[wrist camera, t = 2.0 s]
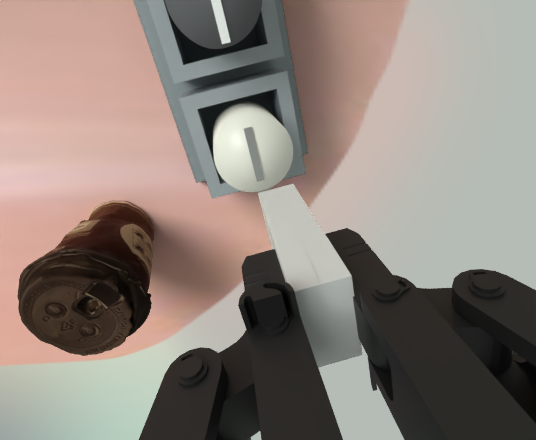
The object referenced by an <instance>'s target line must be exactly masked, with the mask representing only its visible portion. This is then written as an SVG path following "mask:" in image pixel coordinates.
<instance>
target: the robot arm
mask: <svg viewBox="0 0 536 440" xmlns="http://www.w3.org/2000/svg"><path fill="white" fill-rule="evenodd" d="M258 196H259V200H260V204H261V208H262V212H263V216H264V220H265V223H266V227H267V231H268V235H269V239H270V243H271V247H272V250H269V251H265V252H262V253H258V254H255V255H251V256H247V257H246V259H245V261H244V263H243V265H242V274H243V281H244V286H245V291H244V293H243V294H242V295H241V297H240V299H239V305H238V306H239V309H240V311H241V315H242V317H243V320H244V323H245V326H246V329H247V330H246V331H245V333H244V335H243V336H242V337H241V338H240V339H239V340H238V341H237V342H236V343H234V344H233V345H231V346H230V347H228V348H227V349H225V350H223V351H222V352H220V353H217V352H216V351H214V350H212V349H210V348H197V349H193V350H189V351H188V352H186V353H184V354H182V355H180V356H179V357H178V358H177V359H176V360H175V361H174V362H173V363H172V364H171V365H170V367H169V368H168V370H167V372H166V373H165V375H164V378H163V380H162V383H161V386H160V388H159V390H158V393H157V395H156V398H155V400H154V403H153V406H152V408H151V410H150V413H149V415H148V418H147V420H146V423H145V426H144V428H143V430H142V433H141V436H140V438H139V440H251V436H253V435H254V434H256V433H257V432H258V431H261V438H262V440H343V439H342V436H341V433H340V430H339V427H338V424H337V421H336V418H335V415H334V412H333V409H332V407H331V404H330V401H329V398H328V395H327V392H326V389H325V386H324V384H323V381H322V378H321V375H320V372H319V369H318V367H321V366H325V365H328V364H332V363H335V362H339V361H342V360H346V359H348V358H352V357H356V356H359V355H362V348H361V343H362V345H363V347H364V349H365V351H366V353H367V355H368V362H369V369H370V378H371V384H372V388H373V391H374V390H377V385H378V387H379V389H380V391H381V393H382V395H383V397H384V399H385V401H386V403H387V405H388V407H389V409H390V411H391V413H392V415H393V417H394V419H395V421H396V423H397V425H398V427H399V429H400V431H401V433H402V435H403V437H404V439H405V440H536V290H534V289H532V288H530V287H528V286H526V285H524V284H522V283H520V282H518V281H517V280H514V279H513V278H510V277H509V276H507V275H504V274H501V273H499V272H496V271H490V270H483V269H478V270H469V271H465V272H462V273H460V274H459V275H458V276H456V277H455V278H454V281H453V285H452V288H437V289H422V288H416V287H415V285H414V284H412V283H411V282H410V281H408V280H407V279H405V278H402V277H399V276H395V275H392V274H391V273H390V271H389V270H388V269H387V268H386V266H385V265H384V264H383V263H382V261H381V260H380V259H379V258H378V257H377V255H376V254H375V253H374V252H373V251H372V250H371V248H370V247H369V246H368V244H366V243H365V241H364V240H363V238H362V237H361V236H360V235H359V234H358V233H356V232H354V231H352V230H350V229H348V228H346V229H342V230H338V231H335V232H331V233H327V234H325V233H324V232H323V230H322V228H321V227H320V225H319V224H318V222H317V220H316V219H315V217H314V216H313V214H312V213H311V211H310V209H309V208H308V206H307V205H306V203H305V202H304V200H303V198H302V197H301V195H300V194H299V192H298V191H297V189H296V187H295V186H294V184H290V185H286V186H282V187H278V188H275V189H271V190H267V191H263V192H260V193H258ZM513 351H514V352H513ZM376 383H377V384H376Z"/></svg>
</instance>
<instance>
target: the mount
mask: <svg viewBox="0 0 536 440" xmlns="http://www.w3.org/2000/svg"><path fill="white" fill-rule="evenodd" d="M134 3H135V6H136V9H137V12H138V15H139V18H140V21H141V24H142V26H143V29H144V32H145V35H146V38H147V41H148V44H149V47H150V50H151V53H152V56H153V58H154V61H155V64H156V67H157V70H158V73H159V76H160V79H161V82H162V85H163V87H164V90H165V93H166V96H167V99H168V102H169V105H170V108H171V111H172V114H173V117H174V119H175V122H176V125H177V128H178V131H179V134H180V137H181V140H182V143H183V146H184V149H185V151H186V154H187V157H188V160H189V163H190V166H191V169H192V172H193V175H194V178H195V181H196V183H197V182H201V181H205V180H206V182H207V185H208V188H209V191H210V194H211V197H212V199H213V198H216V197H220V196H224V195H228V194H231V193H235V192H239V191H241V190H238V189H236V188H234V187H232V186H230V185H229V184H228V183H227V182H225V180H224V179H223V178H222V177H221V176H220V174H219V172H218V171H217V168H216V166H215V162H214V153H213V127H214V123H215V121H216V119H217V117H218V115H219V114H220V113H221V112H222V110H224V109H225V108H226V107H227V106H229V105H231V104H233V103H236V102H240V101H250V102H255V103H257V104H259V105H261V106H263V107H264V108H266V109H267V110H268V111H269V112H270V113H271V114H272V115H273V116H274V117H275V118H276V119H277V120H278V121H279V122H280V123H281V124H282V125H283V126H284V128H285V129H286V130H287V132H288V134H289V135H290V138H291V141H292V144H293V159H292V163H291V166H290V169H289V171H288V172H287V174H286V175H285V177H284V178H283V179H282V180H284V179H287V178H291V177H295V176H298V175H302V174H306V172H305V166H304V161H303V155H302V154H306V153H308V151H307V145H306V140H305V134H304V128H303V122H302V116H301V111H300V105H299V99H298V93H297V87H296V81H295V76H294V70H293V64H292V58H291V52H290V47H289V41H288V35H287V29H286V23H285V17H284V12H283V6H282V0H262V7H261V12H260V15H259V18H258V20H257V22H256V24H255V26H254V28H253V29H252V31H251V32H250V33H249V34H248V35H247V36H246V37H245V38H244V39H243V40H241V41H240V42H238V43H237V44H235V45H232V46H229V47H226V48H222V49H209V48H205V47H203V46H200V45H198V44H197V43H195V42H193V41H192V40H190V39H189V38H188V37H186V36H185V35H184V34H183V33H182V32H181V31H180V30H179V28H178V27H177V26H176V25H175V23H174V21H173V20H172V18H171V16H170V14H169V12H168V9H167V6H166V3H165V0H134Z"/></svg>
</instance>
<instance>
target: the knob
mask: <svg viewBox="0 0 536 440" xmlns="http://www.w3.org/2000/svg"><path fill="white" fill-rule="evenodd" d="M213 153H214V162H215V166H216V168H217V171H218V172H219V174H220V176H221V177H222V178H223V179H224V180H225V182H227V183H228V184H229V185H230V186H232V187H234V188H236V189H238V190H241V191H245V192H260V191H264V190H267V189H269V188H271V187H273V186H275V185H276V184H278V183H279V182H280V181H281V180H282V179H283V178H284V177H285V175H286V174H287V172H288V171H289V169H290V166H291V163H292V159H293V144H292V141H291V138H290V135H289V134H288V132H287V130H286V129H285V128H284V126H283V125H282V124H281V123H280V122H279V121H278V120H277V119H276V118H275V117H274V116H273V115H272V114H271V113H270V112H269V111H268V110H267V109H266V108H264V107H263V106H261V105H259V104H257V103H255V102H250V101H240V102H236V103H233V104H231V105H229V106H227V107H226V108H225V109H224V110H222V112H221V113H220V114H219V115H218V117H217V119H216V121H215V123H214V127H213Z"/></svg>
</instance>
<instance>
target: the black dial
mask: <svg viewBox="0 0 536 440" xmlns="http://www.w3.org/2000/svg"><path fill="white" fill-rule="evenodd" d="M165 3H166V6H167V9H168V12H169V14H170V16H171V18H172V20H173V21H174V23H175V25H176V26H177V27H178V28H179V30H180V31H181V32H182V33H183V34H184V35H185V36H186V37H188V38H189V39H190V40H192V41H193V42H195V43H197V44H198V45H200V46H203V47H205V48H209V49H222V48H226V47H229V46H232V45H235V44H237V43H238V42H240V41H241V40H243V39H244V38H245V37H246V36H247V35H248V34H249V33H250V32H251V31H252V29H253V28H254V26H255V24H256V22H257V20H258V18H259V15H260V12H261V7H262V0H165Z"/></svg>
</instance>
